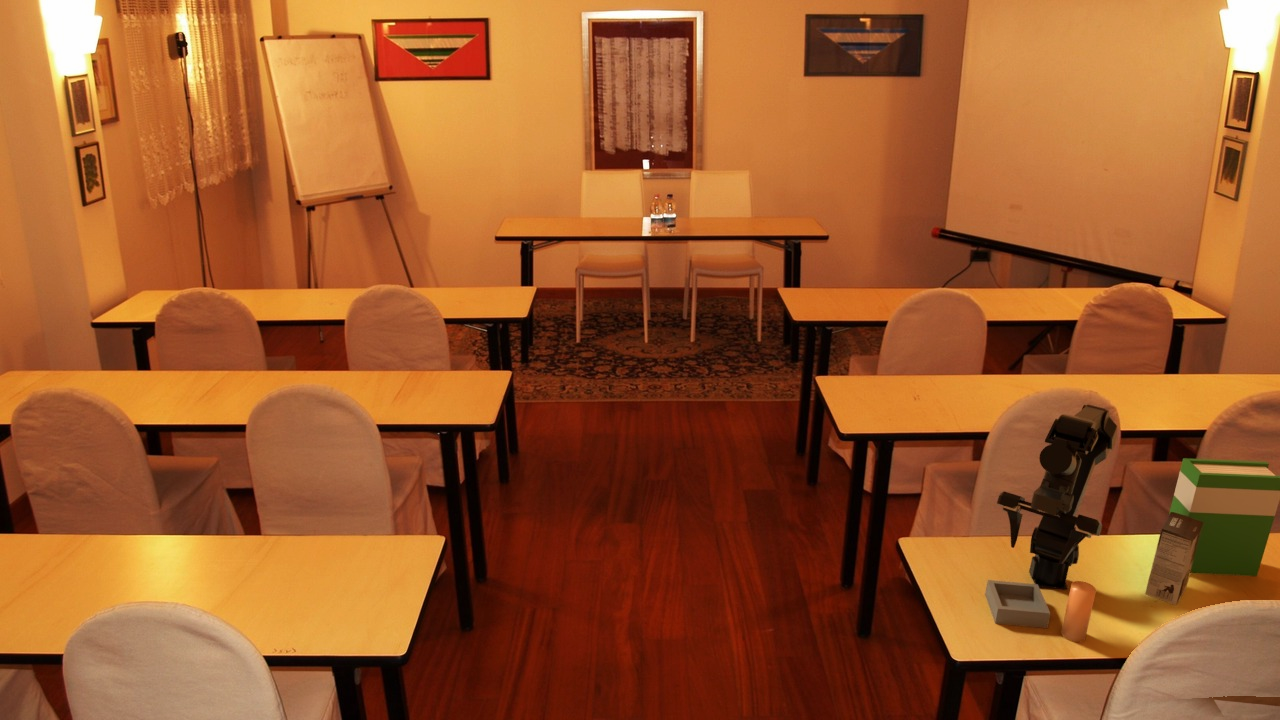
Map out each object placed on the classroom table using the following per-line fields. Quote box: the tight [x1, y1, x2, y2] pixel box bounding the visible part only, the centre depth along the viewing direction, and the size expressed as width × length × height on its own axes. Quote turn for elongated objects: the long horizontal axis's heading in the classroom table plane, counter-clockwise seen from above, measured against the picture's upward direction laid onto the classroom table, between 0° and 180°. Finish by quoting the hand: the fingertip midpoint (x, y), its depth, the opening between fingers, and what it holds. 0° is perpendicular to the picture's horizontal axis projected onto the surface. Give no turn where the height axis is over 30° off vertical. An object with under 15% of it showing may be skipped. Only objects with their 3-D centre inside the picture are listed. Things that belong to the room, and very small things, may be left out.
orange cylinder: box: [1060, 580, 1097, 643], centre depth 191 cm, size 4×4×11 cm
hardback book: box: [1168, 457, 1280, 577], centre depth 213 cm, size 18×7×24 cm, turn 87°
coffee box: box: [1145, 512, 1203, 606], centre depth 205 cm, size 9×6×16 cm
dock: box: [984, 579, 1051, 629], centre depth 199 cm, size 10×10×4 cm
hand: (1036, 555), depth 192 cm, fingers open, 9 cm apart
